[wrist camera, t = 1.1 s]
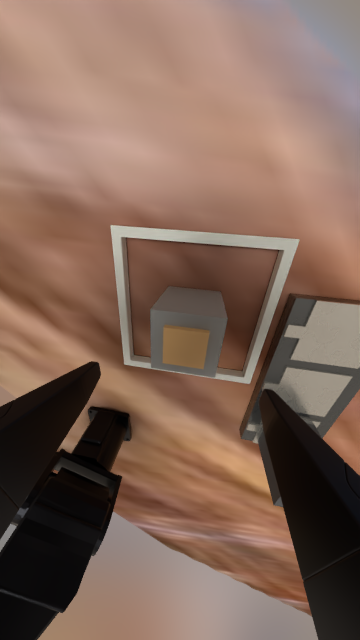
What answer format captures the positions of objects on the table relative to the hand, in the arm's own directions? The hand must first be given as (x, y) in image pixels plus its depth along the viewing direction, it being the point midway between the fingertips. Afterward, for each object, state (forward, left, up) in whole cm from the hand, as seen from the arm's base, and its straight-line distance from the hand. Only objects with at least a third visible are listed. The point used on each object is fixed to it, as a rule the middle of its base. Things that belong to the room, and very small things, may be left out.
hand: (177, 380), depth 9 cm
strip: (-7, -13, -9) cm, 17 cm away
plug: (0, 0, -9) cm, 9 cm away
